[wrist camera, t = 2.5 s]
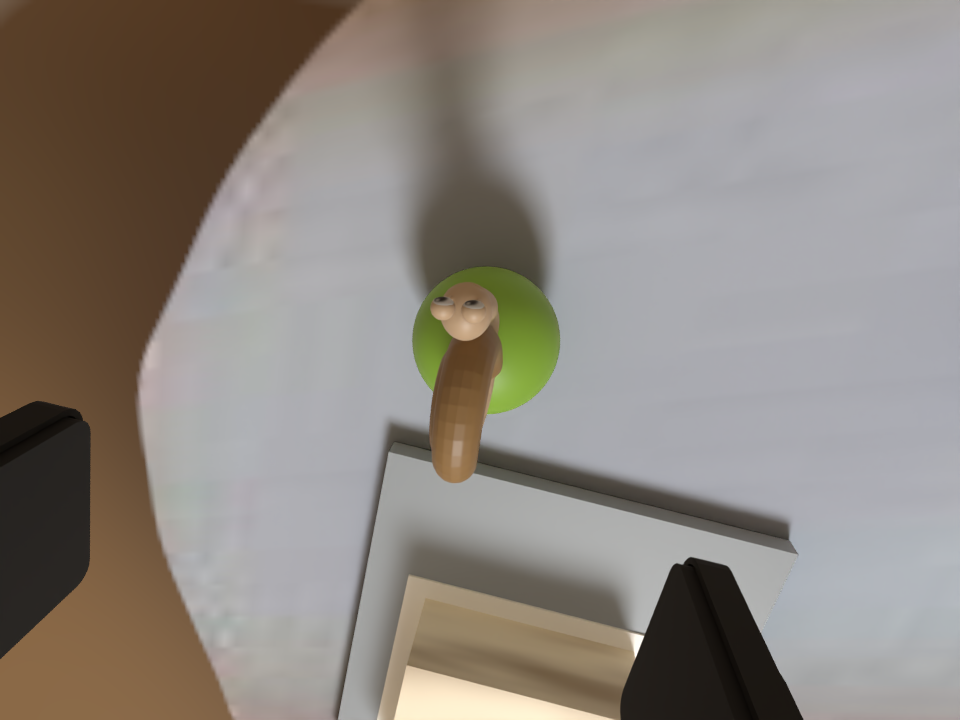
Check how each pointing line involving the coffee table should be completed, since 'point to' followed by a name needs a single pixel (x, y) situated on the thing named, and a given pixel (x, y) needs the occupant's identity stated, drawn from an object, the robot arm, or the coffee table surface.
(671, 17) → the coffee table surface
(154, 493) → the coffee table surface
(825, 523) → the coffee table surface
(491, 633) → the pedestal block
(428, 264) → the coffee table surface
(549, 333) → the snail figurine
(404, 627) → the board
